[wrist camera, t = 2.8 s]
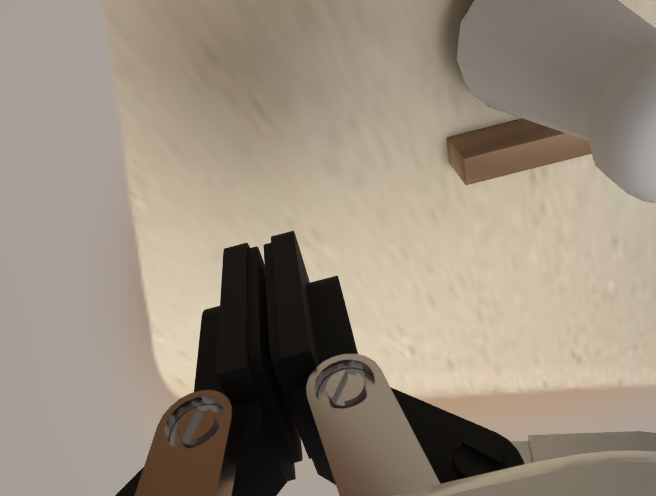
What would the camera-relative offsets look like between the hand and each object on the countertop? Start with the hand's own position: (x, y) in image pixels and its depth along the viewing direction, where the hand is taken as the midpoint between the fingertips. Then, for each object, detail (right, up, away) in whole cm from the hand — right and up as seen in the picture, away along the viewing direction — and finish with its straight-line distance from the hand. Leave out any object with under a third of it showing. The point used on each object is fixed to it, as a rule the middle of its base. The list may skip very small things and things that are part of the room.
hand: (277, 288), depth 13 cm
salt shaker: (+9, +11, +11) cm, 18 cm away
